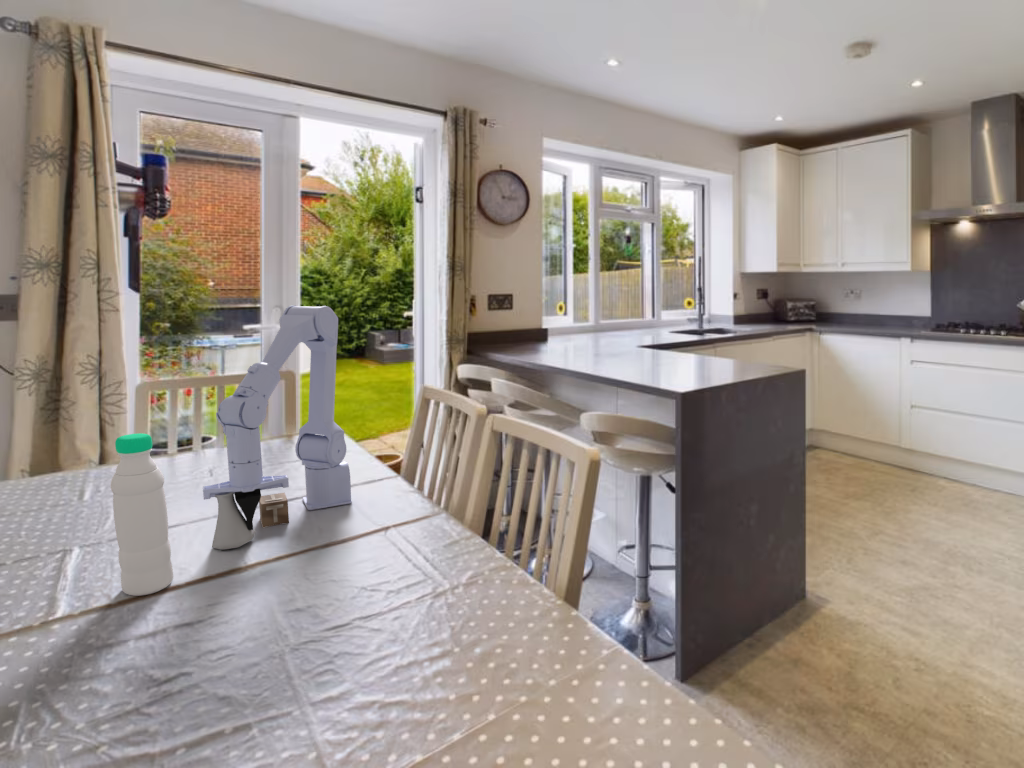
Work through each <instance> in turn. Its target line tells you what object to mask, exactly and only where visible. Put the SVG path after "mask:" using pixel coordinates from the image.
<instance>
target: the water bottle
mask: <svg viewBox="0 0 1024 768" xmlns="http://www.w3.org/2000/svg"><path fill="white" fill-rule="evenodd" d="M114 443H115V451H116V454H117V455H118V457H120V458H119V459H120V460H119V463H118V464H117V466H116V467H115V472H114V474H113V476H112V478H111V480H110V489H111V490H110V491H111V492H112V509H113V518H114V519H113V520H114V526H115V527H114V528H115V535H116V540H117V545H118V564H119V567H120V583H121V585H120V587H121V590H122V591H123V593H124V594H126V595H129V596H134V597H138V596H139V597H140V596H146V595H151V594H154V593H157V592H160V591H163V590H164V589H165V588H166V587H168V586H169V585H170V584H171V583H172V582H173V580H174V569H173V564H172V560H171V557H172V556H171V555H172V549H171V543H170V540H169V517H168V505H167V501H166V499H167V498H166V493H165V488H164V484H165V477H164V476H165V475H164V474H163V472H162V471H161V469H160V468H159V466H157V463H156V462H155V460H154V459H153V458H152V457H151V454H150V453H151V452H152V450H153V449H152V448H153V439H152V436H151V435H150V434H147V433H140V432H139V433H137V432H136V433H129V434H125V435H121V436H118V437H117V438H116V439H115V442H114Z"/></svg>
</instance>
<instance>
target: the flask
mask: <svg viewBox="0 0 1024 768" xmlns="http://www.w3.org/2000/svg"><path fill="white" fill-rule="evenodd" d="M214 498H215V499H217V514H218V515H217V520H216V524H215V530H214V534H213V539H212V543H211V548H212V549H218V550H223V551H224V550H229V549H236V548H240V547H241V546H244V545H245V544H247V543H248V542H250V541H253V538H254V537H255V535H256V532H255V531H254V529H253V530H248V528H247V521H246V517H245V515H244V514H242V513H243V512H241V510H240V509H239V507H238V503H237V502H236V500H235V494H234V492H232V493H231V492H230V493H228V494H225V495H215V497H214Z"/></svg>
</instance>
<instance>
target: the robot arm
mask: <svg viewBox="0 0 1024 768" xmlns="http://www.w3.org/2000/svg"><path fill="white" fill-rule="evenodd" d="M278 321H279V327H280V328H279V330H278V332H277V334H276V335H275V338H273V341H272V342H271V344H270V345H269V346H270V347H269V348H268V350H267V352H266V354H265V356H264V357H263V360H261V361H260V362H255V363H253V364H252V365H250V366H249V367H248V369H247V373H246V374H245V376H244V377H243V379H241V382H240V383H239V384H238V386H237V388H236V389H235V391H234V392H233V394H232V395H228V397H227V396H226V397H225V398H224V399H223V400H222V401H221V402H220V404H219V407H218V410H217V412H216V413H215V415H216V419H217V421H218V423H219V424H220V425H221V426H222V432H223V434H224V435H225V440H226V442H225V443H226V453H227V467H228V478H229V479H228V481H224V482H223V481H222V482H219V483H215V484H212V485H204V486H202V495H203V496H202V497H203V500H210V499H212V498H216V497H215V495H225V494H228V493H230V492H231V493H232V492H234V499H235V502H236V504H237V506H239V507H240V509H241V511H242V513H243V516H244V518H245V519H246V521H247V528H248V530H253V531H254V524H253V520H254V517H255V513H256V509H257V507H258V504H259V501H260V498H261V496H262V493H261V491H263V490H264V491H265V490H269V489H278V488H279V489H280V488H282V489H285V488H289V486H290V485H289V477H288V474H284V475H267V476H266V475H265V476H263V474H264V473H263V472H264V471H263V459H262V444H261V432H260V426H261V425H262V424H263V423H264V421H266V420H265V419H266V417H267V408H268V406H269V399H270V398H271V396H272V394H273V393H274V391H275V389H276V388H277V386H278V384H279V382H280V381H281V379H282V377H281V373H280V370H281V368H282V367H283V366H284V364H285V363H286V361H287V360H288V359H289V357H290V356H291V355H292V354H293V352H294V351H295V350H296V348H297V347H298V345H299V344H301V343H303V344H304V345H305V346H306V347H307V348H308V349H309V350H310V364H309V365H310V366H309V367H310V369H309V393H308V420H307V422H305V424H304V425H302V426H301V427H300V428H299V429H298V438H297V441H296V444H295V456H296V457H297V458H298V459H299V460H300V461H301V465H302V466H304V476H305V477H304V478H305V494H306V496H303V497H302V501H303V503H304V505H305V507H306V509H307V510H308V511H314V510H318V509H319V510H320V509H325V508H331V507H337V506H338V507H339V506H343V505H348V504H352V503H353V500H352V492H351V491H352V489H351V488H352V486H351V472H350V467H349V462H347V461H343V460H344V459H345V457H346V454H347V443H346V441H345V430H344V429H342V428H341V426H340V425H338V424H337V423H336V422H335V400H336V399H335V398H336V397H335V396H336V378H337V377H336V374H337V372H336V371H337V348H338V346H337V345H338V337H339V336H338V335H339V334H338V333H339V317H338V316H337V314H336V313H335V312H334V310H333V309H332V308H331V307H330V306H328V305H327V306H326V305H322V306H306V305H303V306H301V305H293V304H292V305H288V306H287V307H286V308H285V309H284V311H283V313H282V315H281V316H280V317H279V320H278Z"/></svg>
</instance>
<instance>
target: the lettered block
mask: <svg viewBox="0 0 1024 768" xmlns="http://www.w3.org/2000/svg"><path fill="white" fill-rule="evenodd" d="M258 504H259V507H258V508H259V517H260V518H259V519H260V523H261V527H262V528H269V527H273V526H279V525H285V524H289V523H290V520H289V519H290V517H289V515H290V514H289V500H288V498H287V495H286V493H285V492H280V493H273V494H266V495H261V498H260V501H259V503H258Z"/></svg>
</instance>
